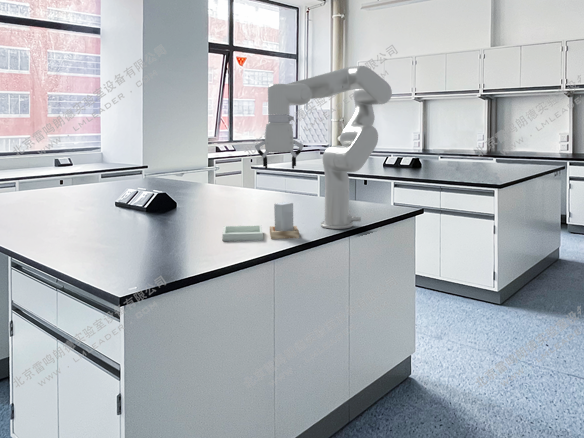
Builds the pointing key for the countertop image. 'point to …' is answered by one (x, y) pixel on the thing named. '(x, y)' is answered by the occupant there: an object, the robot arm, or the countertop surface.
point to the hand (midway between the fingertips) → (279, 168)
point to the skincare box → (283, 216)
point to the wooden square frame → (284, 233)
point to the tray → (242, 233)
